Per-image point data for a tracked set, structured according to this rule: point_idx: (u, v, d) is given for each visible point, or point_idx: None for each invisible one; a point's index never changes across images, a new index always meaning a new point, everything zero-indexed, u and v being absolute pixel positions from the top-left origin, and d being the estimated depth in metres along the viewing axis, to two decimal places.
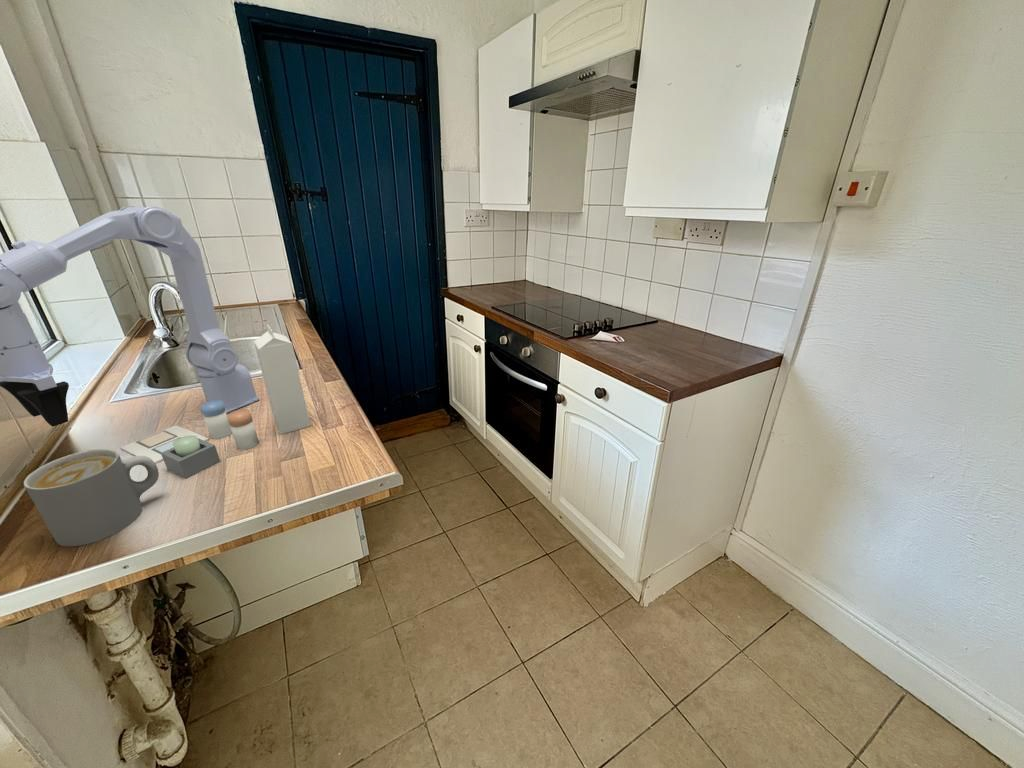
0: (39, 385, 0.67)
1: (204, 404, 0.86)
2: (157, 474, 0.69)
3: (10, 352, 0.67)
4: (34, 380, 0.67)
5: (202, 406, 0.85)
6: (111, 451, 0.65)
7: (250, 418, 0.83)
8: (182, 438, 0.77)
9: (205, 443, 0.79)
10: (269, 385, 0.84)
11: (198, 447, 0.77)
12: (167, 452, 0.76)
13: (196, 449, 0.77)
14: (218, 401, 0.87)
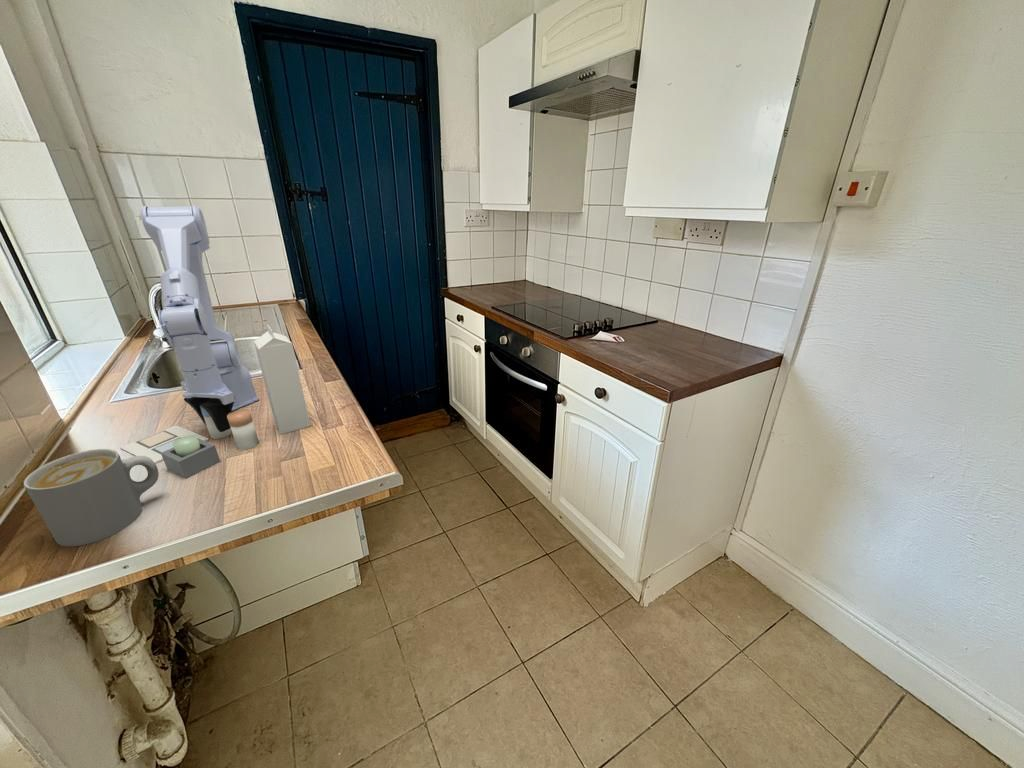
0: (224, 400, 0.81)
1: None
2: (157, 474, 0.69)
3: (201, 373, 0.81)
4: (221, 396, 0.81)
5: None
6: (111, 451, 0.65)
7: (250, 418, 0.83)
8: (182, 438, 0.77)
9: (205, 443, 0.79)
10: (269, 385, 0.84)
11: (198, 447, 0.77)
12: (167, 452, 0.76)
13: (196, 449, 0.77)
14: None
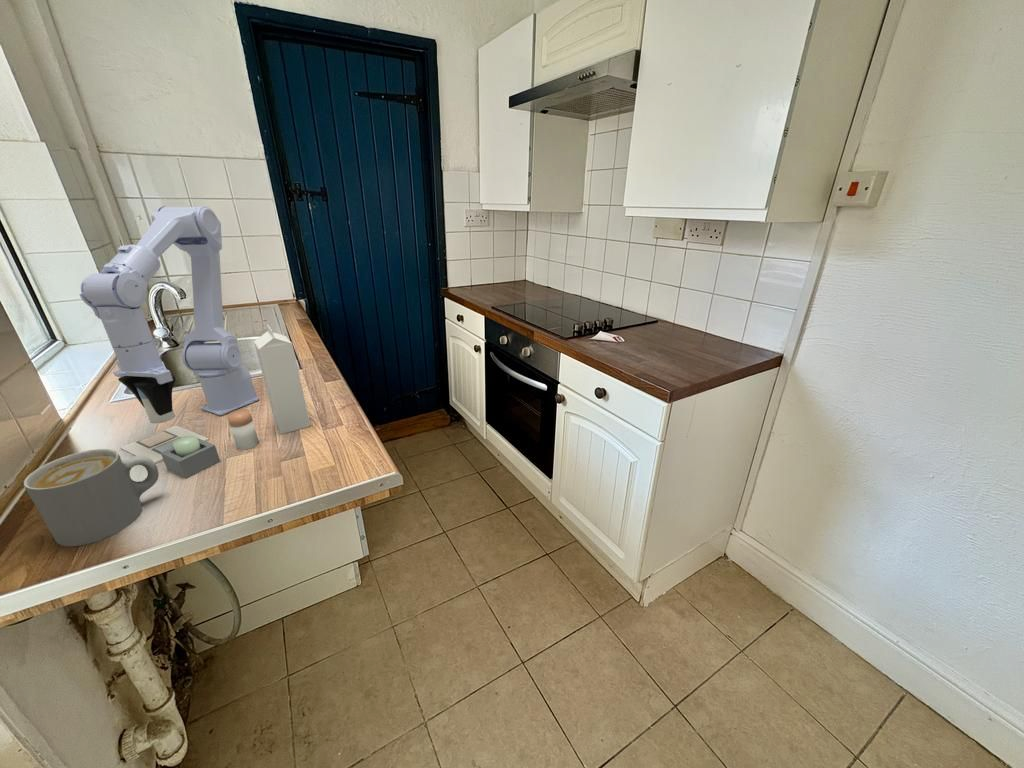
0: (159, 379, 0.74)
1: None
2: (157, 474, 0.69)
3: (133, 349, 0.73)
4: (155, 375, 0.73)
5: None
6: (111, 451, 0.65)
7: (250, 418, 0.83)
8: (182, 438, 0.77)
9: (205, 443, 0.79)
10: (269, 385, 0.84)
11: (198, 447, 0.77)
12: (167, 452, 0.76)
13: (196, 449, 0.77)
14: None
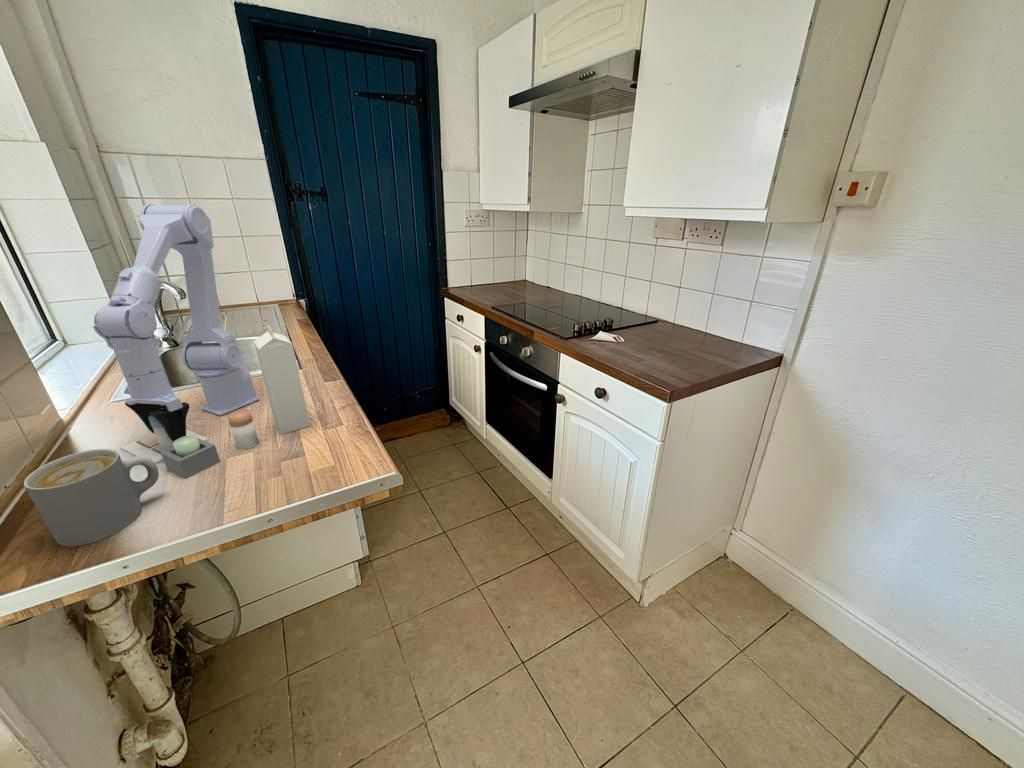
0: (170, 407, 0.76)
1: None
2: (157, 474, 0.69)
3: (144, 377, 0.75)
4: (166, 402, 0.75)
5: (151, 416, 0.80)
6: (111, 451, 0.65)
7: (250, 418, 0.83)
8: (182, 438, 0.77)
9: (205, 443, 0.79)
10: (269, 385, 0.84)
11: (198, 447, 0.77)
12: (167, 452, 0.76)
13: (196, 449, 0.77)
14: None
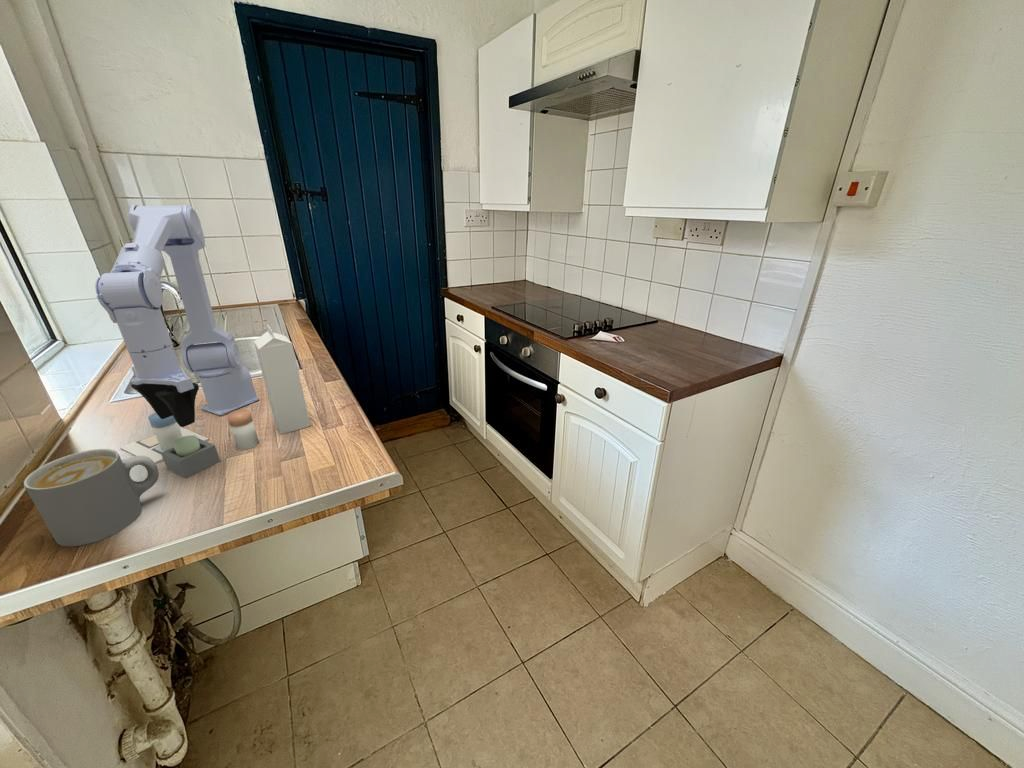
0: (180, 387, 0.68)
1: (153, 414, 0.81)
2: (157, 474, 0.69)
3: (151, 354, 0.67)
4: (175, 382, 0.67)
5: (151, 416, 0.80)
6: (111, 451, 0.65)
7: (250, 418, 0.83)
8: (182, 438, 0.77)
9: (205, 443, 0.79)
10: (269, 385, 0.84)
11: (198, 447, 0.77)
12: (167, 452, 0.76)
13: (196, 449, 0.77)
14: None
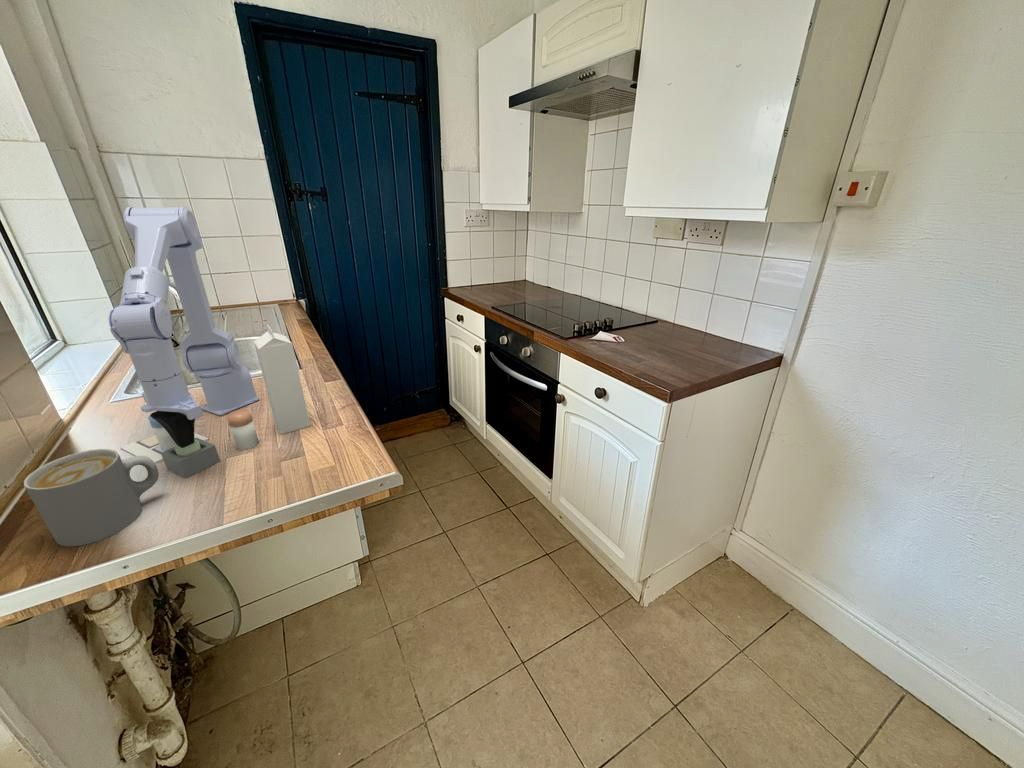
0: (189, 415, 0.70)
1: None
2: (157, 474, 0.69)
3: (162, 383, 0.69)
4: (185, 410, 0.69)
5: None
6: (111, 451, 0.65)
7: (250, 418, 0.83)
8: None
9: (205, 443, 0.79)
10: (269, 385, 0.84)
11: None
12: (167, 452, 0.76)
13: None
14: None
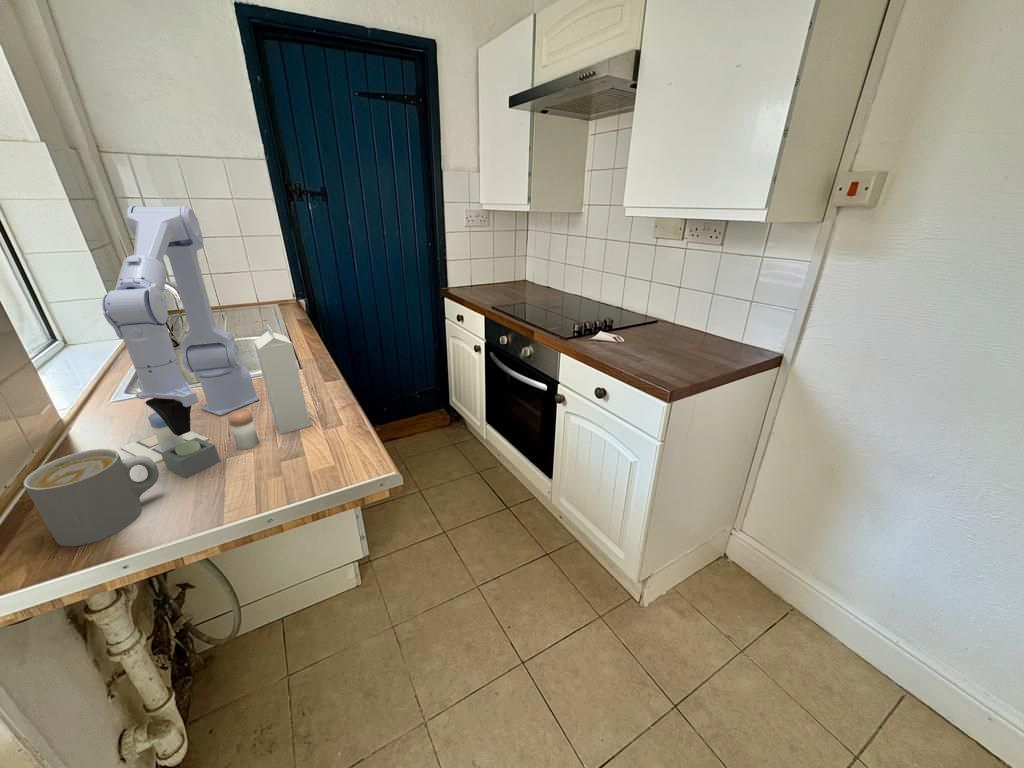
0: (185, 402, 0.69)
1: (153, 414, 0.81)
2: (157, 474, 0.69)
3: (157, 369, 0.68)
4: (181, 397, 0.68)
5: (151, 416, 0.80)
6: (111, 451, 0.65)
7: (250, 418, 0.83)
8: (184, 443, 0.77)
9: (205, 443, 0.79)
10: (269, 385, 0.84)
11: None
12: (167, 452, 0.76)
13: None
14: None
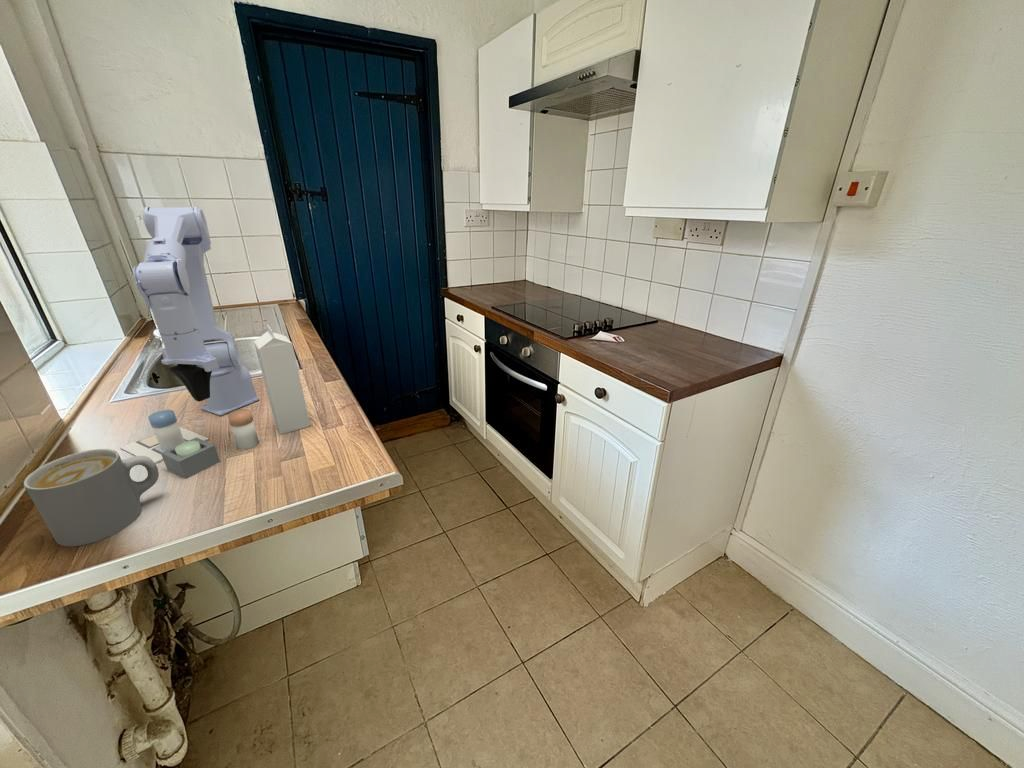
0: (207, 367, 0.74)
1: (153, 414, 0.81)
2: (157, 474, 0.69)
3: (181, 337, 0.74)
4: (203, 362, 0.74)
5: (151, 416, 0.80)
6: (111, 451, 0.65)
7: (250, 418, 0.83)
8: (184, 443, 0.77)
9: (205, 443, 0.79)
10: (269, 385, 0.84)
11: None
12: (167, 452, 0.76)
13: None
14: (169, 411, 0.82)
